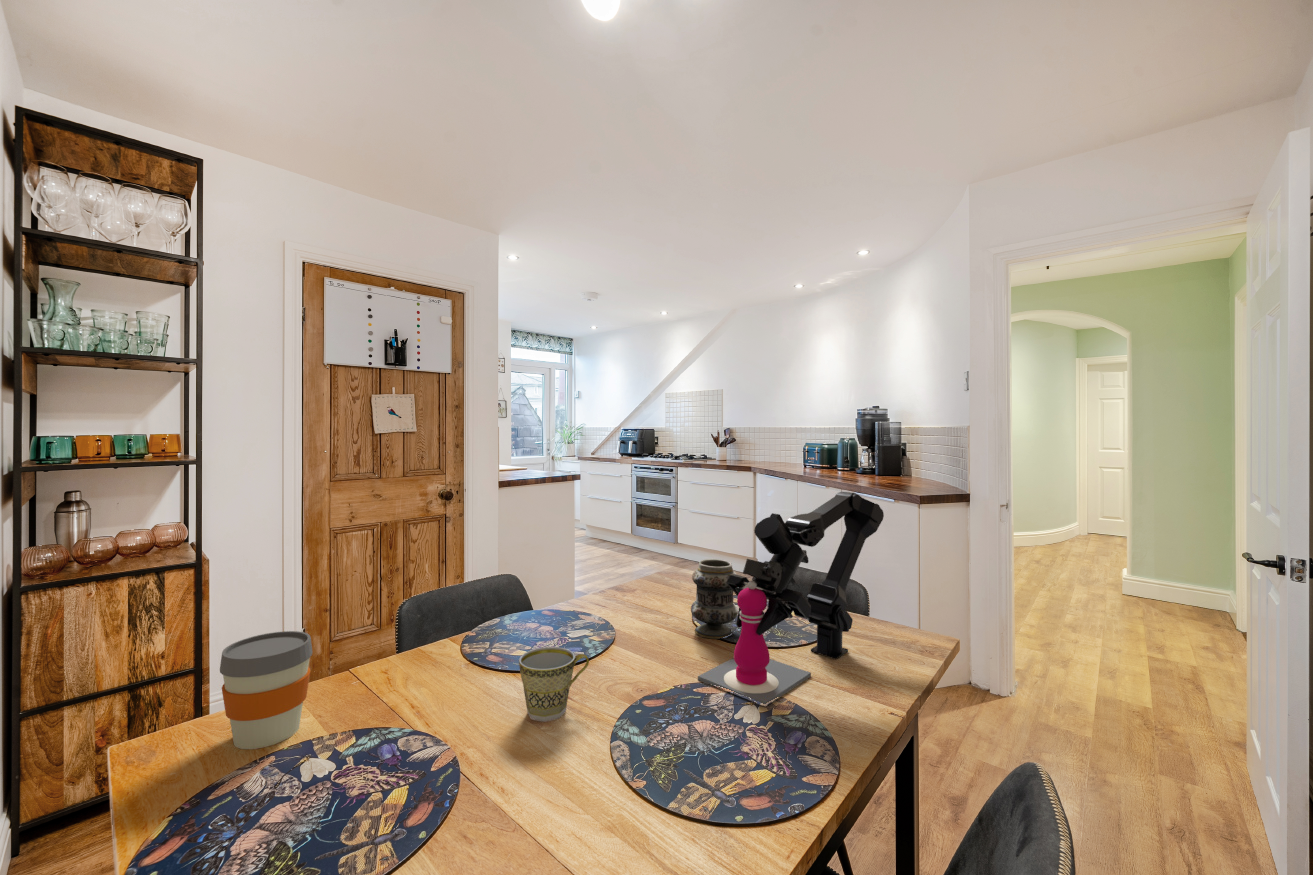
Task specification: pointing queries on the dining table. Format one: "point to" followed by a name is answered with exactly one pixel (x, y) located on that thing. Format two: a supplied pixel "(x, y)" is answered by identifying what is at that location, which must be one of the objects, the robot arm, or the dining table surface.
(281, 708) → the reusable coffee cup
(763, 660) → the pepper mill
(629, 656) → the dining table surface
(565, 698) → the ceramic cup
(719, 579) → the apothecary jar
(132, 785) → the dining table surface
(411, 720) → the dining table surface
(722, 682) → the mat
